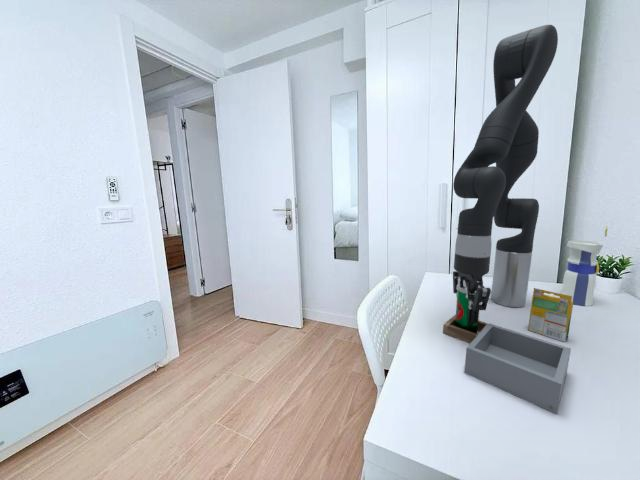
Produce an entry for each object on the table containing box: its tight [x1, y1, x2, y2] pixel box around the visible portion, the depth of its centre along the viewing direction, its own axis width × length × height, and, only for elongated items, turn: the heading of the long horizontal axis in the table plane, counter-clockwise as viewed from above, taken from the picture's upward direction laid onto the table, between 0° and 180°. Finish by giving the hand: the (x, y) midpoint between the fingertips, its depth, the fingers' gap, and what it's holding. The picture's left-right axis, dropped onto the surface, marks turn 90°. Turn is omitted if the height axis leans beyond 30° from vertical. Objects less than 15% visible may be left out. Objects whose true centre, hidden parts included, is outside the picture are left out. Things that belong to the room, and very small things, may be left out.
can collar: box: [442, 314, 489, 344], centre depth 67 cm, size 8×8×2 cm
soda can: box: [455, 286, 480, 334], centre depth 66 cm, size 5×5×12 cm
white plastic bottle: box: [560, 225, 608, 307], centre depth 83 cm, size 8×9×25 cm
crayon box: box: [527, 287, 574, 343], centre depth 65 cm, size 7×3×12 cm, turn 37°
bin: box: [464, 323, 572, 415], centre depth 52 cm, size 14×14×6 cm
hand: (466, 317), depth 67 cm, fingers closed on soda can, 5 cm apart
